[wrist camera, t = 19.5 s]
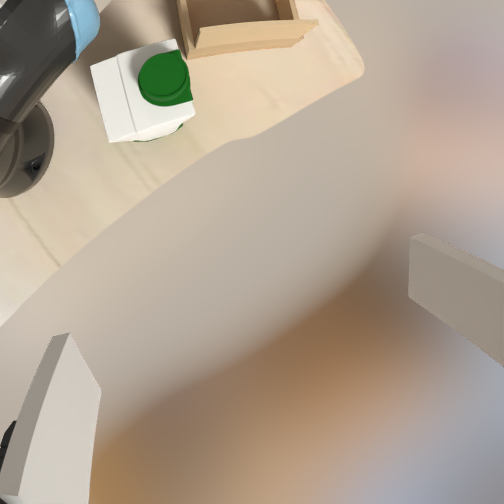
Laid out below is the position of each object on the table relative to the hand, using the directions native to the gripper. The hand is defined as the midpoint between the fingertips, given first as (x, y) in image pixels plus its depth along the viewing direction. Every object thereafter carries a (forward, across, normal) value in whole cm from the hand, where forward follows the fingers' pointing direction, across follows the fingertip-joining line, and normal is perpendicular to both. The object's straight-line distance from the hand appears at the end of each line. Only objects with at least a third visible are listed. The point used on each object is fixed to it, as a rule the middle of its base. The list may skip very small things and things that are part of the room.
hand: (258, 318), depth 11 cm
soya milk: (+37, -3, +12) cm, 39 cm away
